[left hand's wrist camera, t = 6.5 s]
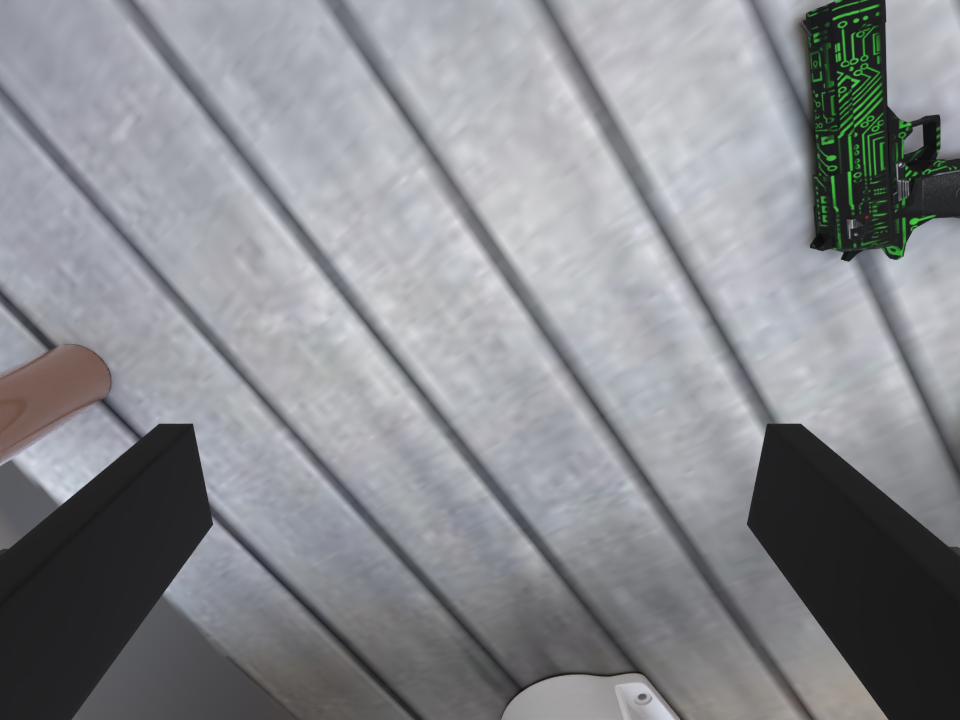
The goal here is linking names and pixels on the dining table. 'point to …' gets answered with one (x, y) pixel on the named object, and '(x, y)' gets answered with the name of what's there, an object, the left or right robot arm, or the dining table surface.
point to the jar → (48, 395)
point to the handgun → (868, 140)
